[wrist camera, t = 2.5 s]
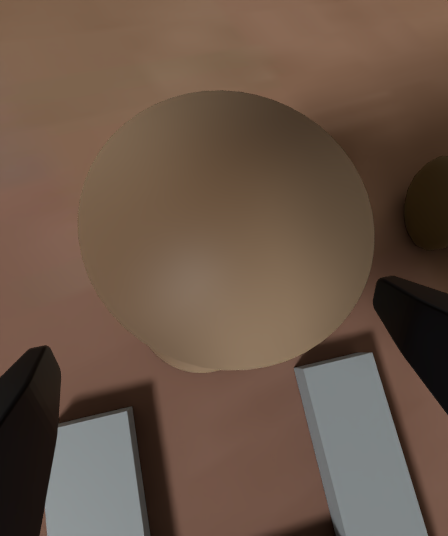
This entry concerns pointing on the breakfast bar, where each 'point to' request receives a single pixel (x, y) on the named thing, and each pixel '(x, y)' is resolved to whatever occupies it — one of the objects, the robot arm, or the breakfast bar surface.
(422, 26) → the breakfast bar surface
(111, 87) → the breakfast bar surface
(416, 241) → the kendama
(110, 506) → the notched board
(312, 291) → the bobbin
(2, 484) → the robot arm
